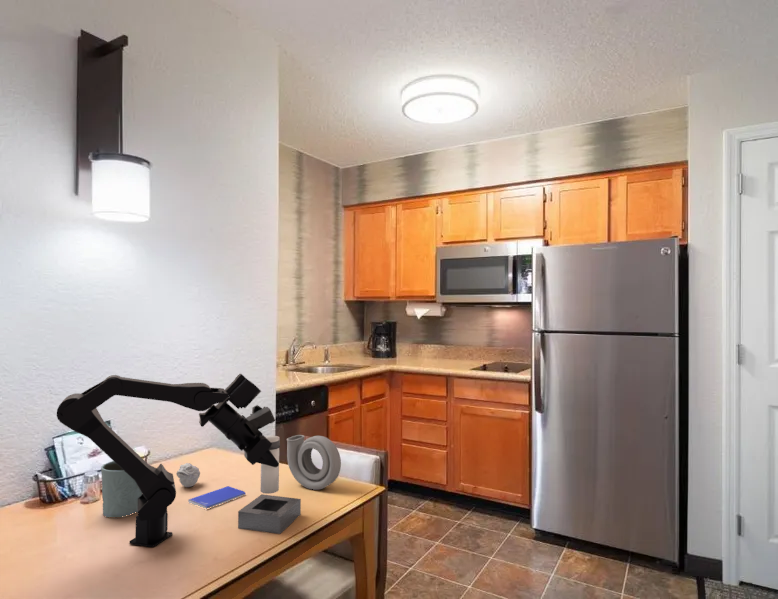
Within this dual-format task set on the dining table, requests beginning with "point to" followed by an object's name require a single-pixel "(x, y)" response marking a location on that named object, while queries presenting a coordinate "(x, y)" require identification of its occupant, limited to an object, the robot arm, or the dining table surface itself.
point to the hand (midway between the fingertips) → (275, 462)
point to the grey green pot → (118, 491)
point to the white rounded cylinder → (271, 469)
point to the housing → (269, 513)
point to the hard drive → (216, 497)
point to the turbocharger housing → (304, 466)
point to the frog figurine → (188, 475)
